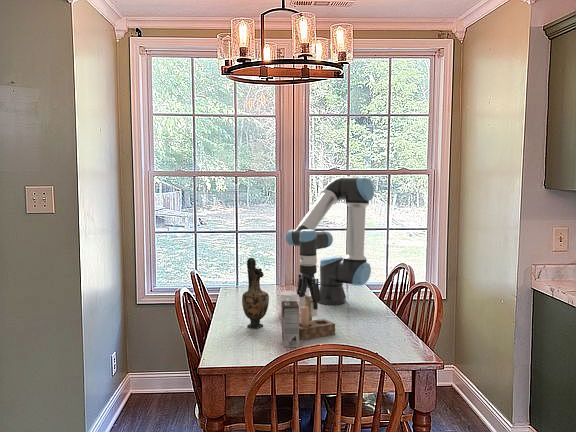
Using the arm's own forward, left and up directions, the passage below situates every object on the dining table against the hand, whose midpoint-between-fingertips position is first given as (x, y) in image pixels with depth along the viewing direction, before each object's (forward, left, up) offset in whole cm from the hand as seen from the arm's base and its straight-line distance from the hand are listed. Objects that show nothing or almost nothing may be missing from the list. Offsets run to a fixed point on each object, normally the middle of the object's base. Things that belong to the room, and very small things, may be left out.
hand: (308, 313), depth 246 cm
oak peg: (0, 0, -4) cm, 4 cm away
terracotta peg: (+11, +16, -4) cm, 20 cm away
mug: (+2, -15, -4) cm, 16 cm away
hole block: (+7, +16, -4) cm, 18 cm away
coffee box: (+21, +22, -4) cm, 30 cm away
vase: (+23, -7, -4) cm, 24 cm away
